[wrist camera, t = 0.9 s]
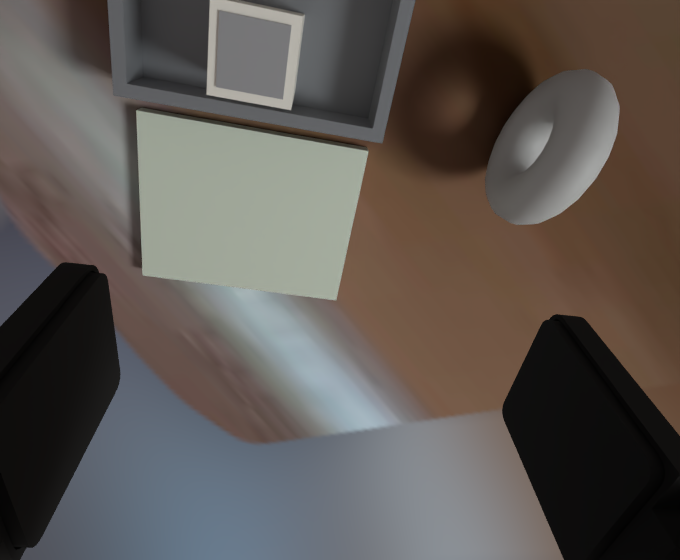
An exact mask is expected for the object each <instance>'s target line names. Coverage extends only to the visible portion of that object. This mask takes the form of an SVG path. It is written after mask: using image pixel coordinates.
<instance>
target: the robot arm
mask: <svg viewBox="0 0 680 560" xmlns="http://www.w3.org/2000/svg"><path fill="white" fill-rule="evenodd" d="M119 380H120V367H119V359H118V351H117V344H116V337H115V329H114V322H113V315H112V307H111V300H110V293H109V285H108V279H107V276H106V275H105V274H103V273H99V271H98V269H97V267H96V266H94V265H86V264H76V263H67V262H65V263H61V264H60V265H59V266H58V267H57V268H56V269H55V270H54V271H53V272H52V273H51V274H50V275H49V276H48V277H47V278H46V279H45V280H44V281H43V283H42V284H41V285H40V286H39V287H38V288H37V289H36V290H35V291H34V292H33V293H32V294H31V295H30V296H29V297H28V298H27V299H26V300H25V301H24V302H23V303H22V305H21V306H20V307H19V308H18V309H17V310H16V311H15V312H14V313H13V314H12V315H11V316H10V317H9V318H8V319H7V320H6V321H5V322H4V323H3V324H2V326H0V560H20V559H21V557H22V555H23V553H24V551H25V549H26V547H29V548H33V547H34V546H35V545H37V543H38V542H39V541H40V539H41V537H42V536H43V534H44V532H45V530H46V527H47V526H48V524H49V522H50V520H51V518H52V516H53V514H54V512H55V510H56V508H57V506H58V504H59V502H60V500H61V498H62V496H63V494H64V492H65V490H66V488H67V487H68V485H69V483H70V480H71V479H72V477H73V475H74V472H75V471H76V469H77V467H78V465H79V463H80V461H81V459H82V457H83V455H84V453H85V451H86V449H87V447H88V445H89V443H90V441H91V439H92V437H93V435H94V434H95V432H96V430H97V428H98V426H99V424H100V422H101V420H102V418H103V416H104V414H105V412H106V410H107V408H108V406H109V404H110V402H111V400H112V398H113V396H114V394H115V392H116V390H117V388H118V385H119ZM502 413H503V418H504V421H505V424H506V426H507V428H508V431H509V433H510V435H511V438H512V440H513V442H514V445H515V447H516V449H517V451H518V454H519V456H520V458H521V460H522V463H523V465H524V468H525V470H526V472H527V474H528V477H529V479H530V482H531V484H532V486H533V489H534V491H535V493H536V496H537V498H538V500H539V502H540V505H541V507H542V510H543V512H544V514H545V516H546V519H547V521H548V524H549V526H550V528H551V531H552V533H553V535H554V537H555V540H556V542H557V544H558V547H559V549H560V551H561V554H562V556H563V558H564V560H680V436H679V435H678V433H677V432H676V431H675V430H674V428H673V427H672V426H671V425H670V423H669V422H668V421H667V420H666V419H665V417H664V416H663V415H662V414H661V412H660V411H659V410H658V409H657V407H656V406H655V405H654V404H653V402H652V401H651V400H650V399H649V398H648V396H647V395H646V394H645V393H644V391H643V390H642V389H641V388H640V386H639V385H638V384H637V383H636V381H635V380H634V379H633V378H632V377H631V375H630V374H629V373H628V372H627V370H626V369H625V368H624V367H623V365H622V364H621V363H620V362H619V361H618V359H617V358H616V357H615V356H614V354H613V353H612V352H611V351H610V349H609V348H608V347H607V346H606V344H605V343H604V342H603V341H602V340H601V338H600V337H599V336H598V335H597V333H596V332H595V331H594V330H593V328H592V327H591V326H590V325H589V323H588V322H587V321H586V320H585V319H584V318H582V317H577V316H567V315H558V314H557V315H553V316H552V317H551V318H550V319H549V320H545V321H544V322H543V323H542V325H541V327H540V329H539V331H538V333H537V335H536V337H535V339H534V341H533V343H532V345H531V347H530V349H529V351H528V354H527V356H526V358H525V360H524V362H523V364H522V366H521V368H520V370H519V372H518V374H517V376H516V379H515V381H514V383H513V385H512V387H511V389H510V391H509V393H508V395H507V397H506V399H505V401H504V404H503V409H502Z"/></svg>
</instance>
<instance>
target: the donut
mask: <svg viewBox="0 0 680 560" xmlns="http://www.w3.org/2000/svg"><path fill="white" fill-rule="evenodd" d="M619 108H620V107H619V103H618V100H617V97H616V94H615V91H614V88H613V86H612V84H611V83H610V82H608V81H607V80H606V79H605V78H603V77H602V76H600V75H599V74H597V73H596V72H594V71H591V70H588V69H584V70H571V71H563V72H561V73H559V74H557V75H555V76H553V77H551V78H549V79H547V80H545V81H543V82H542V83H541V84H540V85H538V86H537V87H536V88H535V89H534V90H533V91H531V92H530V93H529V94H528V95H527V96H526V97H525V99H524V100H523V101H522V102H521V103H520V104H519V106H518V107H517V108H516V109H515V110H514V111H513V113H512V114H511V116H510V117H509V119H508V120H507V122H506V123H505V125H504V126H503V128H502V130H501V132H500V134H499V136H498V138H497V140H496V142H495V144H494V147H493V150H492V153H491V155H490V158H489V162H488V166H487V172H486V177H485V188H486V196H487V199H488V201H489V203H490V206H491V208H492V209H493V211H494V212H495V214H497V215H498V216H500V217H502V218H503V219H505V220H507V221H508V222H510V223H512V224H517V225H524V224H537V223H541V222H543V221H545V220H547V219H550V218H552V217H554V216H556V215H558V214H560V213H561V212H563V211H564V210H565V209H566V208H568V207H569V206H570V205H571V204H573V203H574V202H575V201H576V200H578V199H579V198H580V197H581V195H582V194H583V193H584V192H585V191H586V190H587V188H588V187H589V186H590V185H591V184H592V183H593V181H594V180H595V179H596V177H597V175H598V174H599V172H600V170H601V169H602V167H603V165H604V164H605V162H606V160H607V159H608V157H609V154H610V152H611V149H612V146H613V144H614V141H615V138H616V135H617V129H618V119H619Z"/></svg>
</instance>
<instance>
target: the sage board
mask: <svg viewBox="0 0 680 560" xmlns="http://www.w3.org/2000/svg"><path fill="white" fill-rule="evenodd" d="M136 117H137V143H138V169H139V195H140V221H141V247H142V273H143V275H144V276H152V277H159V278H167V279H175V280H183V281H190V282H198V283H206V284H213V285H221V286H229V287H237V288H244V289H252V290H260V291H267V292H275V293H283V294H291V295H298V296H306V297H314V298H321V299H329V300H336V299H337V294H338V289H339V285H340V280H341V276H342V271H343V266H344V262H345V257H346V252H347V248H348V243H349V239H350V234H351V229H352V225H353V220H354V216H355V211H356V206H357V202H358V197H359V193H360V188H361V183H362V179H363V174H364V170H365V165H366V160H367V156H368V148H367V147H362V146H356V145H350V144H345V143H339V142H334V141H328V140H322V139H317V138H311V137H305V136H300V135H294V134H288V133H283V132H277V131H271V130H266V129H260V128H254V127H249V126H243V125H237V124H232V123H226V122H220V121H215V120H209V119H203V118H198V117H192V116H186V115H181V114H175V113H169V112H164V111H158V110H152V109H147V108H139V109H138V110H136Z"/></svg>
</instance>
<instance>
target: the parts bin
mask: <svg viewBox="0 0 680 560" xmlns="http://www.w3.org/2000/svg"><path fill="white" fill-rule="evenodd" d="M107 1H108V17H109V34H110V50H111V66H112V82H113V95H114V96H119V97H125V98H131V99H136V100H142V101H147V102H153V103H159V104H164V105H170V106H175V107H181V108H187V109H192V110H198V111H203V112H209V113H215V114H220V115H226V116H231V117H237V118H243V119H248V120H254V121H259V122H265V123H271V124H276V125H282V126H287V127H293V128H299V129H304V130H310V131H315V132H321V133H327V134H332V135H338V136H343V137H349V138H355V139H360V140H366V141H371V142H377V143H382V142H383V138H384V134H385V129H386V125H387V121H388V116H389V112H390V108H391V103H392V99H393V95H394V90H395V86H396V82H397V77H398V73H399V69H400V64H401V60H402V56H403V51H404V47H405V43H406V38H407V34H408V30H409V25H410V21H411V17H412V12H413V8H414V4H415V0H241V1H246V2H251V3H256V4H260V5H265V6H270V7H274V8H279V9H284V10H288V11H293V12H298V13H303V14H305V18H304V26H303V34H302V42H301V49H300V57H299V65H298V73H297V81H296V89H295V95H294V99H293V103H292V108H291V110H287V109H281V108H276V107H270V106H265V105H260V104H254V103H249V102H243V101H238V100H232V99H227V98H221V97H216V96H211V95H207V66H208V38H209V10H210V0H107Z"/></svg>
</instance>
